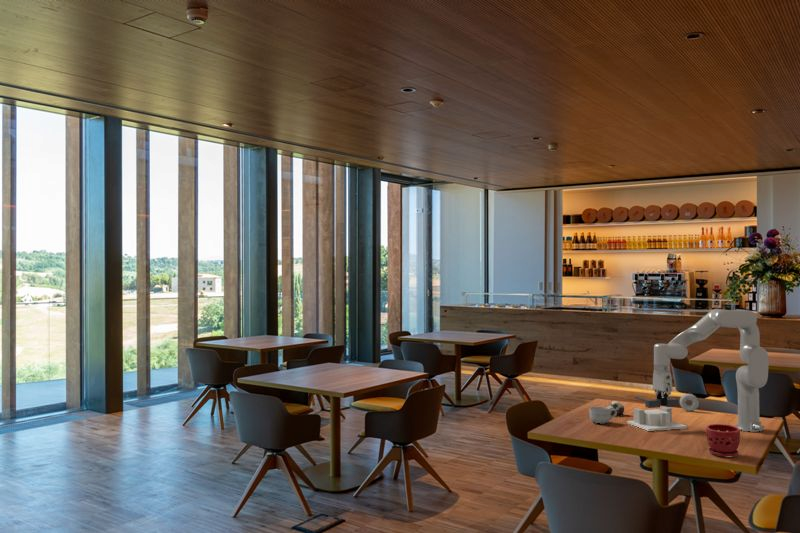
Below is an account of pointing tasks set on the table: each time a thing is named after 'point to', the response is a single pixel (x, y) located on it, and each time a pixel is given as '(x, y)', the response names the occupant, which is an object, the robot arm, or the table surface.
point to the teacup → (601, 414)
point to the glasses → (659, 402)
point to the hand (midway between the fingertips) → (661, 404)
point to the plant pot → (723, 439)
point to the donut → (693, 398)
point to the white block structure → (655, 419)
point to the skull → (616, 408)
